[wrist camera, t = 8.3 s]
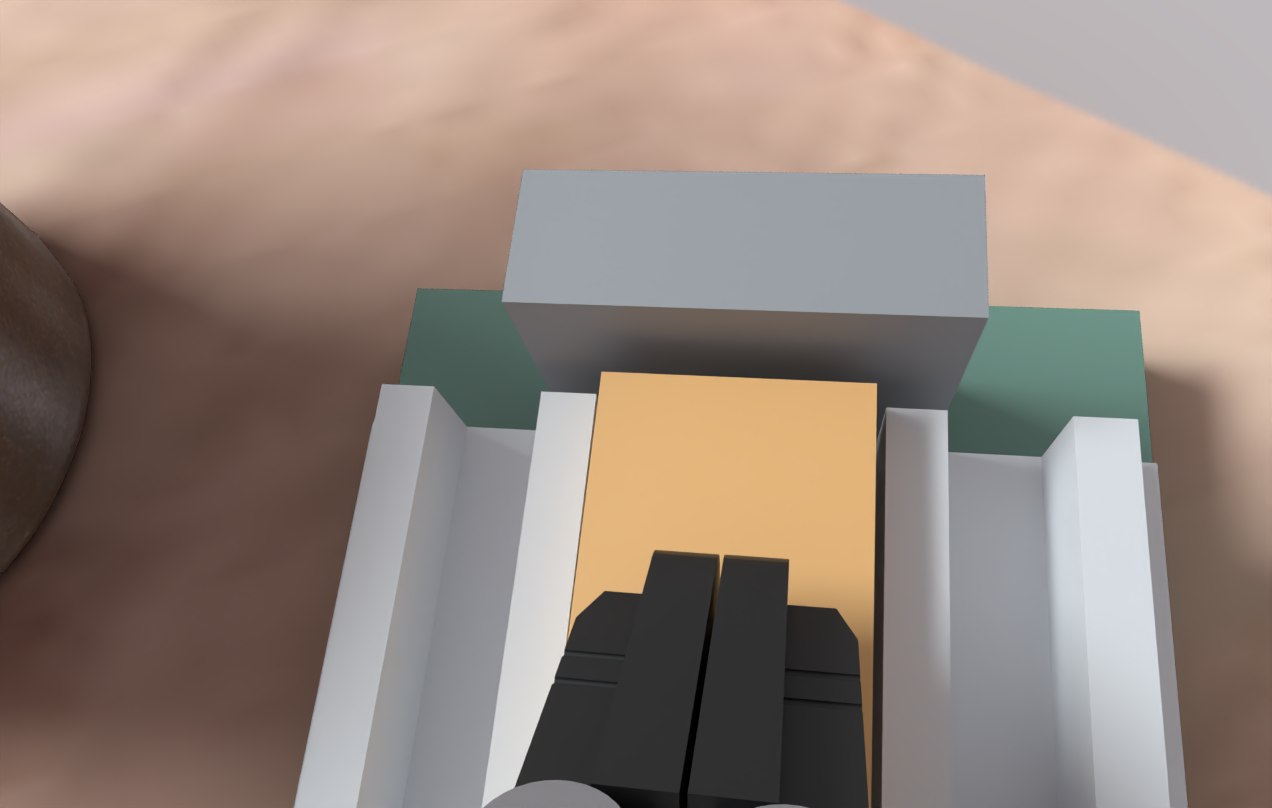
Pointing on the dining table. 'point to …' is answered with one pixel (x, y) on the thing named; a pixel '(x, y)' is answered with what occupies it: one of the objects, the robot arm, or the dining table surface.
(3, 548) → the plant pot
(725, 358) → the base
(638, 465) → the retention strap
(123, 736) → the dining table surface
